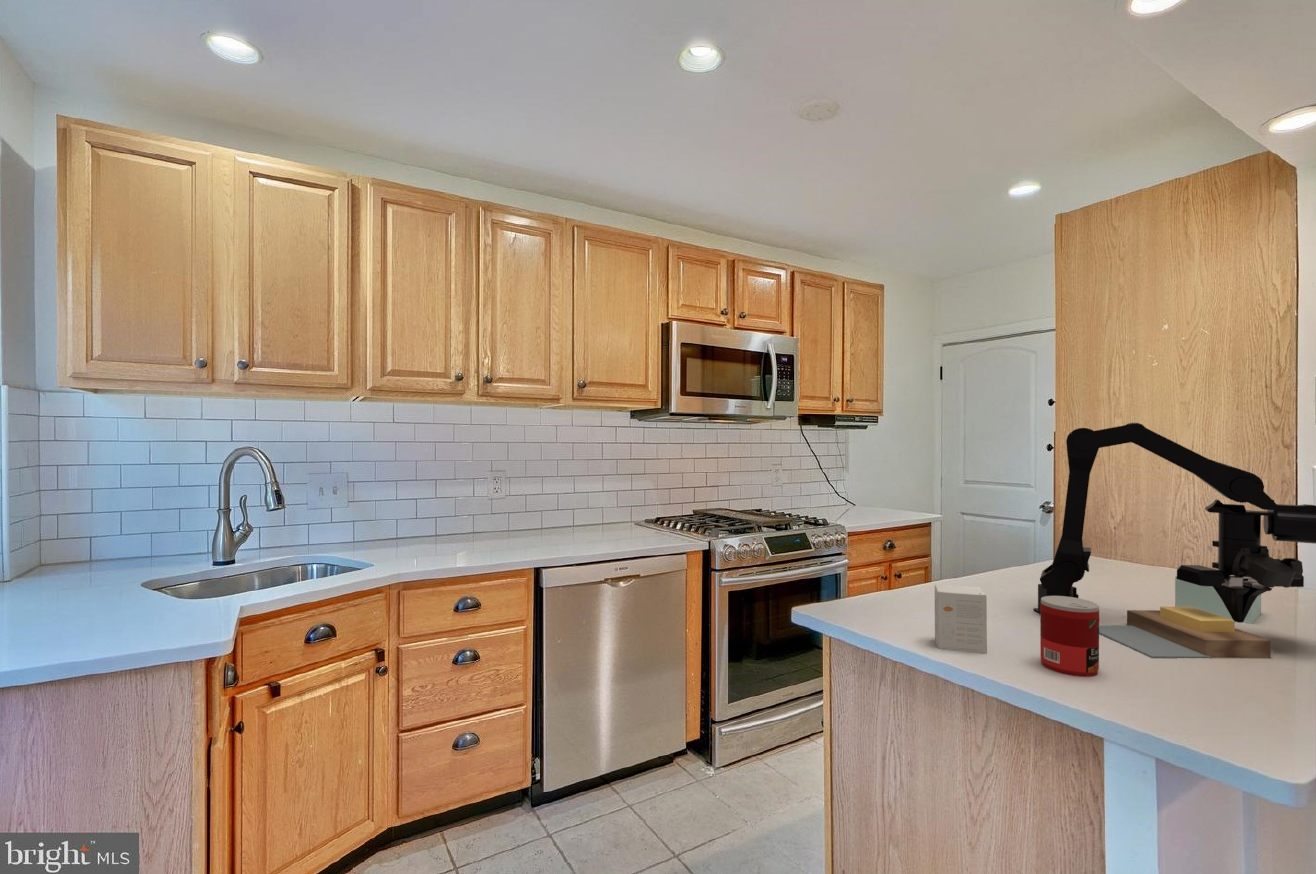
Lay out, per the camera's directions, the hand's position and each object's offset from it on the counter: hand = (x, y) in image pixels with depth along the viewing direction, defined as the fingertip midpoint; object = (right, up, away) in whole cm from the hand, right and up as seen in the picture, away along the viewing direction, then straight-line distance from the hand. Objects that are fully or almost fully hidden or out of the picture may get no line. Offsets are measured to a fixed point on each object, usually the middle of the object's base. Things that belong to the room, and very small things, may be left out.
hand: (1238, 622), depth 115 cm
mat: (-18, -3, -1) cm, 19 cm away
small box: (-53, -4, -3) cm, 54 cm away
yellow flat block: (-8, 0, 0) cm, 8 cm away
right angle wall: (+13, -4, +18) cm, 23 cm away
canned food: (-41, -4, -14) cm, 43 cm away
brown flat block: (-8, -3, 0) cm, 9 cm away
